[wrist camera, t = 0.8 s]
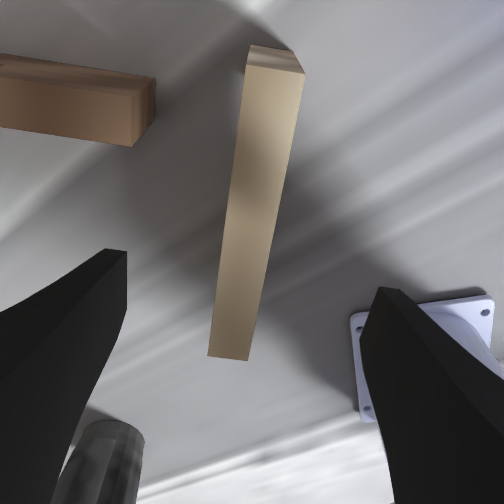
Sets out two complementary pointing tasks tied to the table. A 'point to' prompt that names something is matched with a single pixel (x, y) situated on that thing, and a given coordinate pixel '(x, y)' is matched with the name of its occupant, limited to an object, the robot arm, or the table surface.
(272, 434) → the table surface
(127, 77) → the notched walnut block
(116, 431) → the beverage cup
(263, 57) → the beige wooden plank
